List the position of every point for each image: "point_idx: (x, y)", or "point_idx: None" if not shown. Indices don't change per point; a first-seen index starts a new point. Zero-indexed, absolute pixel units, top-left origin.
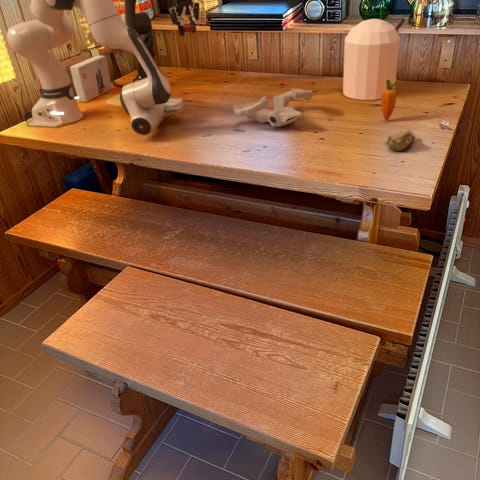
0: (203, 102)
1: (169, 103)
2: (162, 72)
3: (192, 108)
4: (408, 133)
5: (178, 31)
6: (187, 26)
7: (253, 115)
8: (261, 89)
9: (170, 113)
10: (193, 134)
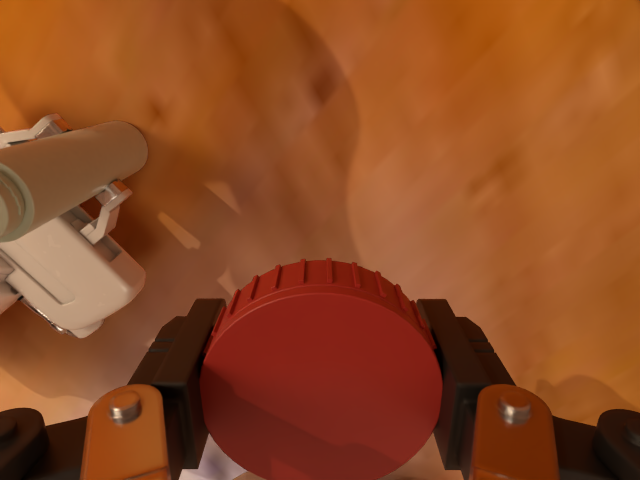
0: (347, 166)
1: (44, 302)
2: (14, 227)
3: (260, 185)
4: None
5: (155, 342)
6: (301, 437)
7: None
8: (615, 268)
9: (140, 168)
10: (98, 388)
